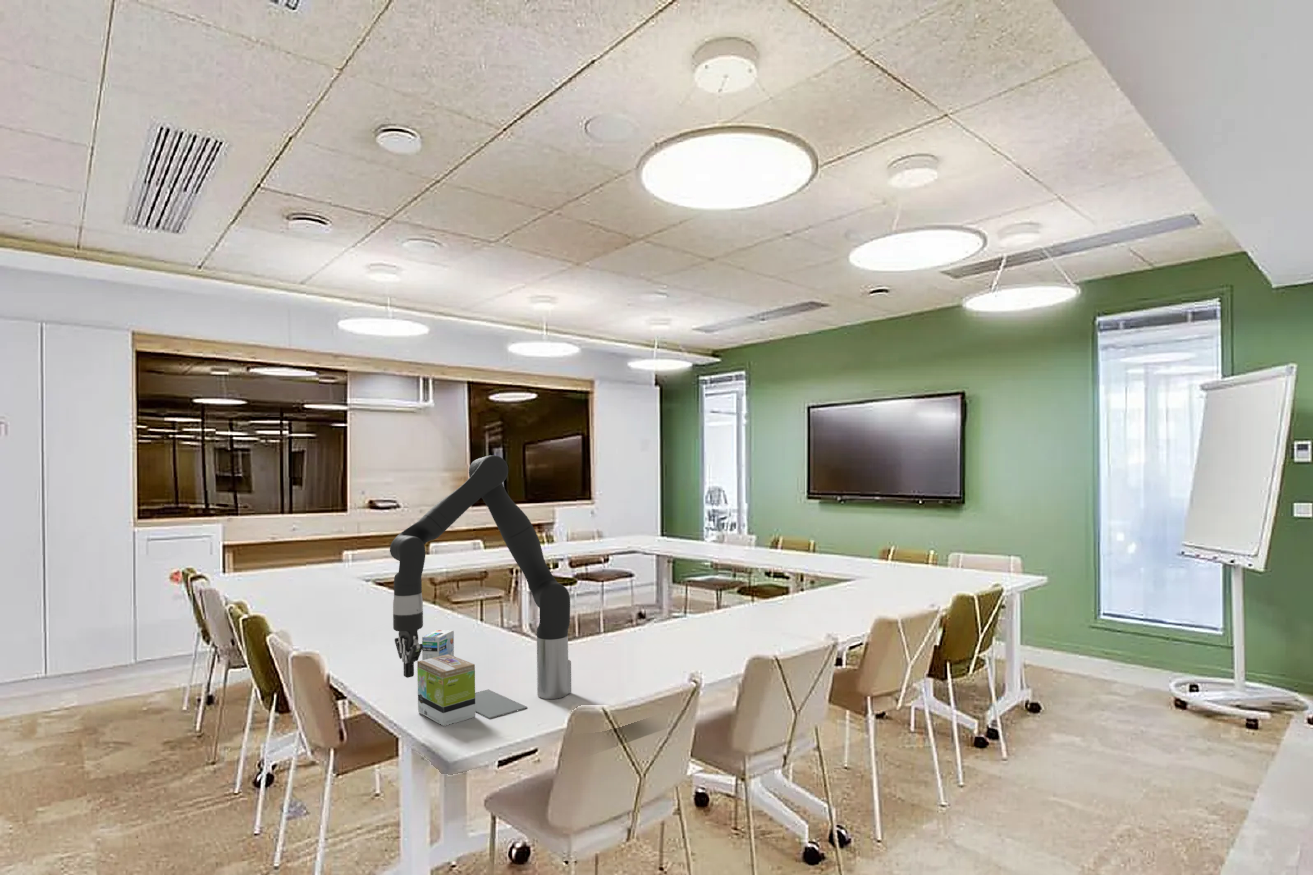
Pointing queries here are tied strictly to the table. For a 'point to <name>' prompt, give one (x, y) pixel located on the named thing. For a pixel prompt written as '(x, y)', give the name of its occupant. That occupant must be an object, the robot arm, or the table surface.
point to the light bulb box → (438, 644)
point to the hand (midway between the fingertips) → (408, 676)
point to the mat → (494, 704)
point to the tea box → (446, 689)
